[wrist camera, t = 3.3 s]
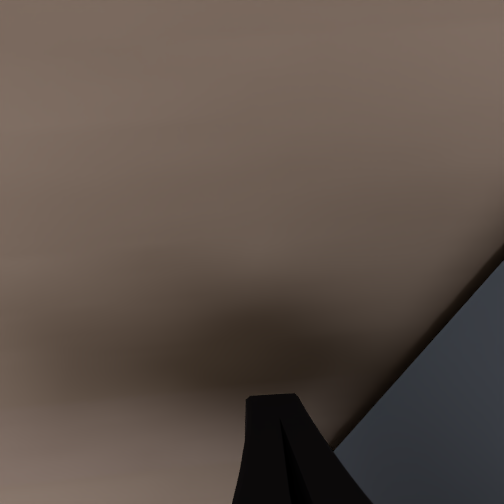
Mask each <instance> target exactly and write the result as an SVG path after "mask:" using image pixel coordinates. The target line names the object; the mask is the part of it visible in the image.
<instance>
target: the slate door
mask: <svg viewBox="0 0 504 504" xmlns="http://www.w3.org/2000/svg"><path fill="white" fill-rule="evenodd" d="M333 452H334V453H335V455H336V456H337V458H338V459H339V460H340V462H341V463H342V465H343V466H344V467H345V469H346V470H347V471H348V473H349V474H350V475H351V477H352V478H353V479H354V481H355V482H356V483H357V484H358V486H359V487H360V488H361V489H362V491H363V492H364V493H365V494H366V496H367V497H368V498H369V499H370V501H371V502H372V503H373V504H504V261H503V262H502V263H501V264H500V265H499V266H498V267H497V268H496V270H495V271H494V272H493V273H492V274H491V275H490V276H489V277H488V279H487V280H486V281H485V282H484V283H483V284H482V285H481V286H480V288H479V289H478V290H477V291H476V292H475V293H474V294H473V295H472V296H471V298H470V299H469V300H468V301H467V302H466V303H465V304H464V305H463V307H462V308H461V309H460V310H459V311H458V312H457V313H456V314H455V316H454V317H453V318H452V319H451V320H450V321H449V322H448V323H447V325H446V326H445V327H444V328H443V329H442V330H441V331H440V332H439V334H438V335H437V336H436V337H435V338H434V339H433V340H432V341H431V343H430V344H429V345H428V346H427V347H426V348H425V349H424V350H423V352H422V353H421V354H420V355H419V356H418V357H417V358H416V359H415V360H414V362H413V363H412V364H411V365H410V366H409V367H408V368H407V369H406V371H405V372H404V373H403V374H402V375H401V376H400V377H399V378H398V380H397V381H396V382H395V383H394V384H393V385H392V386H391V387H390V389H389V390H388V391H387V392H386V393H385V394H384V395H383V396H382V398H381V399H380V400H379V401H378V402H377V403H376V404H375V405H374V407H373V408H372V409H371V410H370V411H369V412H368V413H367V414H366V416H365V417H364V418H363V419H362V420H361V421H360V422H359V423H358V424H357V426H356V427H355V428H354V429H353V430H352V431H351V432H350V433H349V435H348V436H347V437H346V438H345V439H344V440H343V441H342V442H341V444H340V445H339V446H338V447H337V448H336V449H335V450H334V451H333Z"/></svg>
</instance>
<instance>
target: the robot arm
mask: <svg viewBox="0 0 504 504" xmlns="http://www.w3.org/2000/svg"><path fill="white" fill-rule="evenodd" d="M232 504H373V503H372V502H371V501H370V499H369V498H368V497H367V496H366V494H365V493H364V492H363V491H362V489H361V488H360V487H359V486H358V484H357V483H356V482H355V481H354V479H353V478H352V477H351V475H350V474H349V473H348V471H347V470H346V469H345V467H344V466H343V465H342V463H341V462H340V460H339V459H338V458H337V456H336V455H335V453H334V452H333V451H332V449H331V448H330V446H329V445H328V444H327V442H326V441H325V439H324V438H323V436H322V435H321V433H320V432H319V430H318V429H317V427H316V426H315V424H314V422H313V421H312V419H311V418H310V416H309V414H308V413H307V411H306V409H305V408H304V406H303V404H302V403H301V401H300V399H299V397H298V396H297V395H296V394H295V393H291V394H274V395H258V396H250V397H248V398H247V399H246V416H245V444H244V449H243V455H242V461H241V467H240V472H239V477H238V481H237V485H236V489H235V493H234V498H233V502H232Z"/></svg>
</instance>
